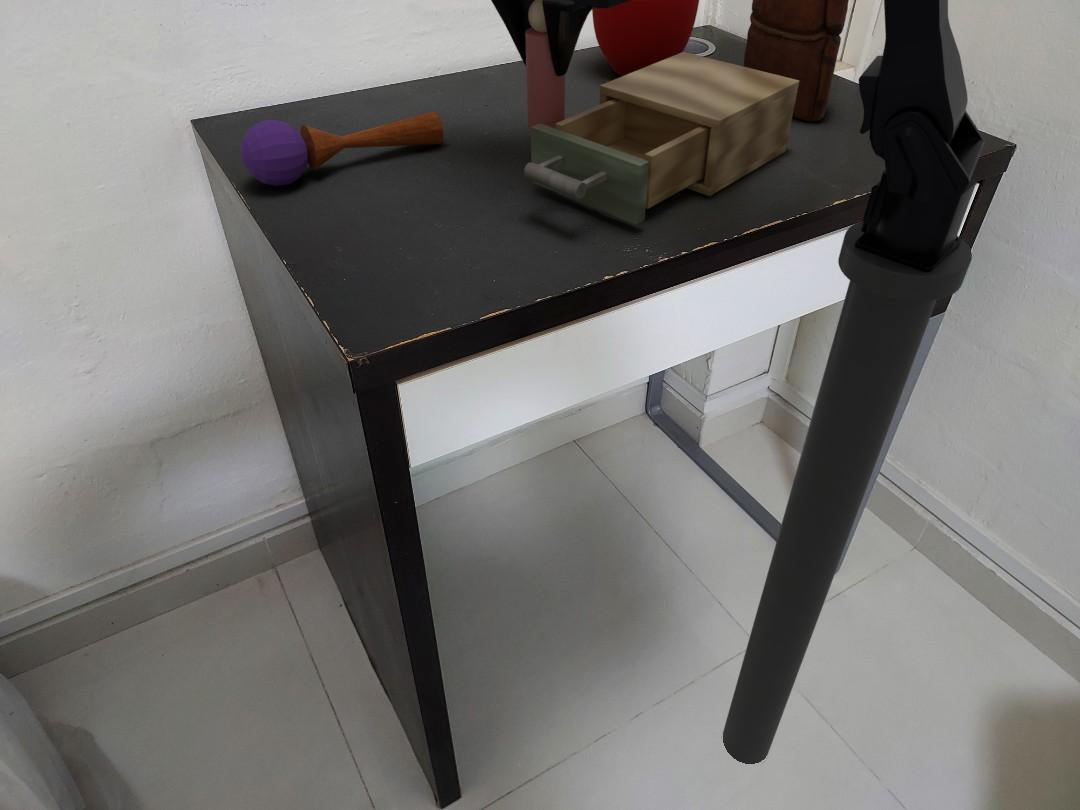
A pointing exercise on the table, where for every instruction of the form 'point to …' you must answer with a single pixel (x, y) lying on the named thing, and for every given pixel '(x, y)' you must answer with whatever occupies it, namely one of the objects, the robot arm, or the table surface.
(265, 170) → the kendama
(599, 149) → the drawer
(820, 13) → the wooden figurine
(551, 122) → the doll
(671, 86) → the cabinet
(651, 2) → the ceramic cup
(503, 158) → the table surface
